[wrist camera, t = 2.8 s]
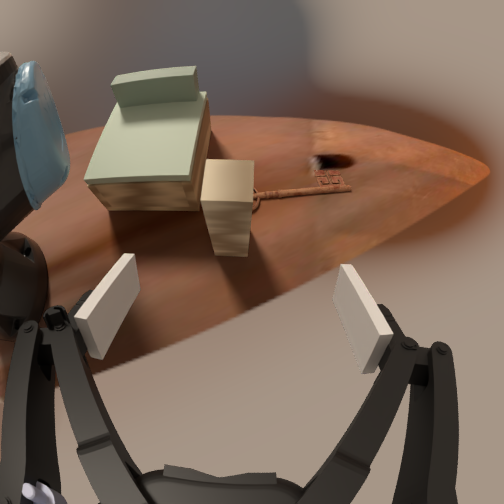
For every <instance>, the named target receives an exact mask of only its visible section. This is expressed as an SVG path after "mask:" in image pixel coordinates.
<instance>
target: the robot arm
mask: <svg viewBox="0 0 504 504" xmlns="http://www.w3.org/2000/svg"><path fill="white" fill-rule="evenodd" d="M69 170H70V157H69V151H68V147H67V143H66V139H65V135H64V132H63V128H62V125H61V122H60V119H59V116H58V112H57V109H56V106H55V103H54V100H53V97H52V94H51V91H50V89H49V86H48V83H47V81H46V78H45V76H44V75H43V73H42V71H41V67H40V66H39V64H38V63H37V62H35V61H30V62H28V63H23V64H22V65H21V66H20V67H17V65H16V62H15V61H14V58H13V56H12V54H11V53H10V52H0V339H1V340H5V341H13V342H15V346H14V351H13V355H12V359H11V364H10V369H9V374H8V380H7V386H6V392H5V400H4V409H3V420H2V441H1V449H2V450H1V451H2V452H1V457H2V459H1V462H0V504H67V502H66V500H65V498H64V497H63V496H62V495H61V482H60V472H59V465H58V458H57V448H56V436H55V415H54V392H55V369H56V373H57V378H58V382H59V386H60V390H61V394H62V397H63V401H64V405H65V408H66V411H67V414H68V417H69V421H70V424H71V427H72V429H73V432H74V435H75V438H76V440H77V443H78V448H77V454H78V457H79V459H80V462H81V464H82V466H83V469H84V471H85V473H86V475H87V477H88V479H89V482H90V484H91V486H92V488H93V490H94V491H95V493H96V495H97V497H98V499H99V501H100V503H98V504H350V503H351V502H352V500H353V499H354V497H355V495H356V494H357V493H358V491H359V490H360V488H361V486H362V485H363V483H364V482H365V480H366V478H367V476H368V474H369V473H370V465H371V463H372V461H373V459H374V457H375V456H376V454H377V452H378V450H379V448H380V446H381V444H382V442H383V441H384V438H385V437H386V434H387V432H388V430H389V428H390V426H391V424H392V422H393V419H394V417H395V415H396V413H397V410H398V408H399V405H400V403H401V400H402V398H403V396H404V393H405V390H406V388H407V385H408V384H411V386H410V402H409V413H408V422H407V430H406V438H405V445H404V451H403V456H402V462H401V467H400V472H399V476H398V481H397V485H396V489H395V493H394V497H393V502H392V504H458V502H457V496H456V490H455V485H456V476H457V465H458V445H459V444H458V443H459V421H458V400H457V387H456V378H455V369H454V362H453V356H452V351H451V349H450V347H449V346H448V345H447V344H445V343H443V342H438V341H437V342H434V343H433V344H432V346H431V348H424V347H419V345H418V343H417V342H416V341H415V340H413V339H412V338H410V337H405V335H404V334H403V332H402V330H401V329H400V327H399V325H398V324H397V322H396V321H395V319H394V317H392V314H391V312H390V311H389V309H388V308H386V307H385V306H384V305H383V304H376V303H375V301H374V299H373V298H372V296H371V294H370V293H369V291H368V290H367V288H366V286H365V285H364V283H363V281H362V280H361V278H360V277H359V275H358V274H357V272H356V271H355V269H354V267H353V266H352V265H350V264H341V265H340V270H339V274H338V278H337V283H336V287H335V291H334V295H333V298H332V300H333V303H334V305H335V308H336V310H337V312H338V315H339V317H340V320H341V322H342V325H343V327H344V330H345V332H346V335H347V338H348V340H349V343H350V345H351V348H352V350H353V353H354V356H355V359H356V361H357V364H358V367H359V370H360V372H361V374H367V373H374V372H375V370H376V368H377V366H378V365H379V368H380V370H381V371H380V373H379V375H378V376H377V378H376V380H375V382H374V385H373V386H372V388H371V390H370V392H369V394H368V396H367V397H366V399H365V401H364V403H363V404H362V406H361V408H360V410H359V411H358V413H357V415H356V416H355V418H354V420H353V421H352V423H351V424H350V426H349V428H348V429H347V431H346V432H345V434H344V435H343V437H342V438H341V440H340V441H339V443H338V444H337V446H336V447H335V449H334V450H333V452H332V453H331V454H330V456H329V457H328V458H327V460H326V461H325V462H324V464H323V465H322V466H321V468H320V469H319V470H318V472H317V473H316V474H315V475H314V476H313V477H312V479H311V480H310V481H309V482H308V483H307V484H306V486H305V487H304V488H302V487H300V486H298V485H297V484H295V483H293V482H291V481H288V480H285V479H282V478H276V473H245V474H240V475H234V476H228V477H220V478H219V477H215V476H212V475H209V474H205V473H202V472H199V471H197V470H194V469H191V468H183V467H177V466H170V465H165V466H164V470H155V471H151V472H148V473H145V474H142V473H141V471H140V470H139V468H138V467H137V466H136V465H135V463H134V462H133V460H132V459H131V457H130V455H129V453H128V452H127V450H126V448H125V446H124V444H123V442H122V441H121V439H120V437H119V435H118V433H117V431H116V429H115V427H114V425H113V423H112V421H111V419H110V417H109V415H108V412H107V410H106V408H105V406H104V403H103V401H102V399H101V396H100V394H99V391H98V389H97V387H96V384H95V381H94V379H93V376H92V373H91V371H90V368H89V365H88V362H87V359H86V357H85V355H84V354H85V353H86V351H87V350H88V352H89V354H90V356H91V357H92V358H97V359H101V360H103V358H104V356H105V354H106V352H107V350H108V348H109V346H110V345H111V343H112V341H113V339H114V337H115V335H116V333H117V331H118V329H119V327H120V326H121V324H122V322H123V320H124V318H125V316H126V315H127V313H128V311H129V309H130V307H131V306H132V304H133V302H134V300H135V299H136V297H137V295H138V293H139V292H140V284H139V278H138V272H137V266H136V260H135V254H128V253H124V254H123V255H122V257H121V258H120V259H119V260H118V261H117V262H116V264H115V265H114V266H113V267H112V268H111V270H110V271H109V272H108V273H107V275H106V276H105V277H104V278H103V279H102V281H101V282H100V283H99V284H98V286H97V287H96V288H95V290H89V291H88V292H86V293H85V294H83V295H82V297H81V298H80V299H79V301H78V302H77V303H76V305H75V306H74V307H73V308H72V310H71V311H70V312H69V313H68V315H67V313H66V310H65V308H64V307H63V306H58V305H57V306H53V307H50V308H49V309H47V310H46V311H45V313H44V315H43V318H44V320H45V322H46V325H47V327H48V328H40V327H39V325H38V322H39V320H40V317H41V315H42V312H43V309H44V305H45V300H46V294H47V267H46V262H45V258H44V255H43V253H42V251H41V249H40V247H39V246H38V244H37V243H36V242H35V241H33V240H32V239H30V238H29V237H27V236H26V235H24V234H21V233H18V232H11V231H12V230H13V229H14V228H15V227H16V226H17V225H18V224H19V223H20V222H21V221H22V220H23V219H24V218H25V217H27V216H28V215H29V214H30V213H31V212H32V211H33V210H38V209H39V208H40V207H41V205H42V203H43V202H44V201H45V200H46V199H47V198H48V197H49V196H51V195H52V194H53V193H54V192H55V191H56V190H57V189H59V188H60V187H61V186H62V185H63V184H64V182H65V181H66V179H67V177H68V174H69Z"/></svg>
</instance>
